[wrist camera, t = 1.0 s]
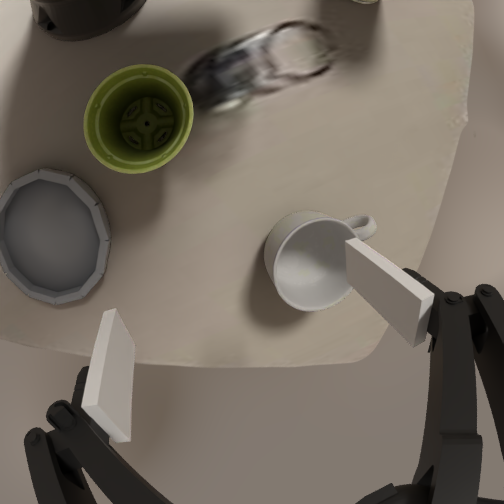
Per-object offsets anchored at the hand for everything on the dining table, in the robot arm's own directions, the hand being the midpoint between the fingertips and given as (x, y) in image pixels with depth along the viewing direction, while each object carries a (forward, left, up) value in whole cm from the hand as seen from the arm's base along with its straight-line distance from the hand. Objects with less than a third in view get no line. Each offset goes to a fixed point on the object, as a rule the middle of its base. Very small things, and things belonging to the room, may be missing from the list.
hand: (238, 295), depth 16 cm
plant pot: (-11, -4, -20) cm, 23 cm away
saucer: (-2, -19, -20) cm, 28 cm away
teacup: (+7, +12, -20) cm, 24 cm away
